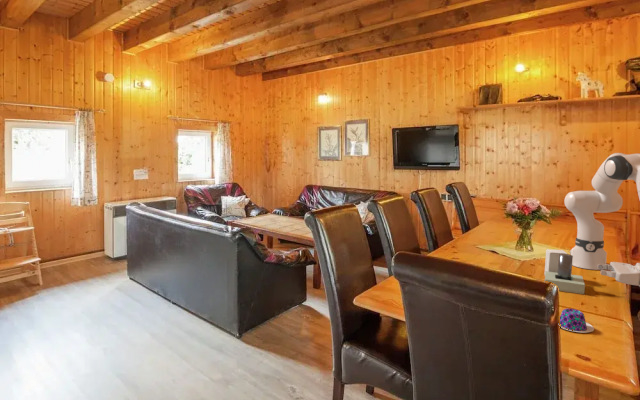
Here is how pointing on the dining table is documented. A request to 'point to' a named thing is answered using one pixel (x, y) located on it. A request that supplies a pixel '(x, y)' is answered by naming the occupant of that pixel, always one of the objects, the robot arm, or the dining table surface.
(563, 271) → the peg
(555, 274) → the socket block
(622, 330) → the dining table surface
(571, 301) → the dining table surface
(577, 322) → the purple patterned hat
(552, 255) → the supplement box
